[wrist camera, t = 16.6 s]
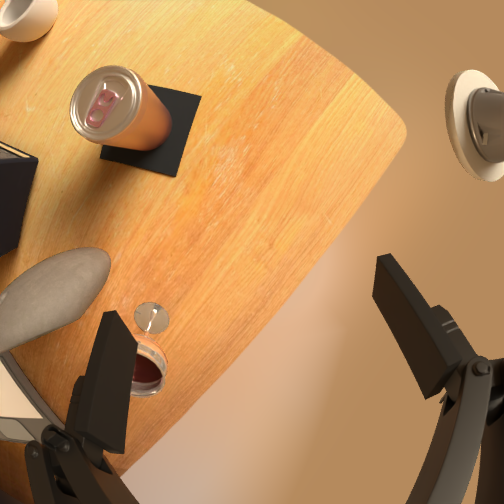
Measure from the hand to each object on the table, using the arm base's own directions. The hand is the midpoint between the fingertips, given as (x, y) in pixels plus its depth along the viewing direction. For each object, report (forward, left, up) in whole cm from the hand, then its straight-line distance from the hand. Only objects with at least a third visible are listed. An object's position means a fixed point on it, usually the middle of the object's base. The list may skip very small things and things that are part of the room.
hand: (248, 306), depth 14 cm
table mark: (+12, -8, -22) cm, 27 cm away
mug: (+37, -22, -22) cm, 49 cm away
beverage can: (+12, -8, -22) cm, 27 cm away
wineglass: (+6, +16, -22) cm, 28 cm away
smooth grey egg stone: (+18, +12, -22) cm, 31 cm away
